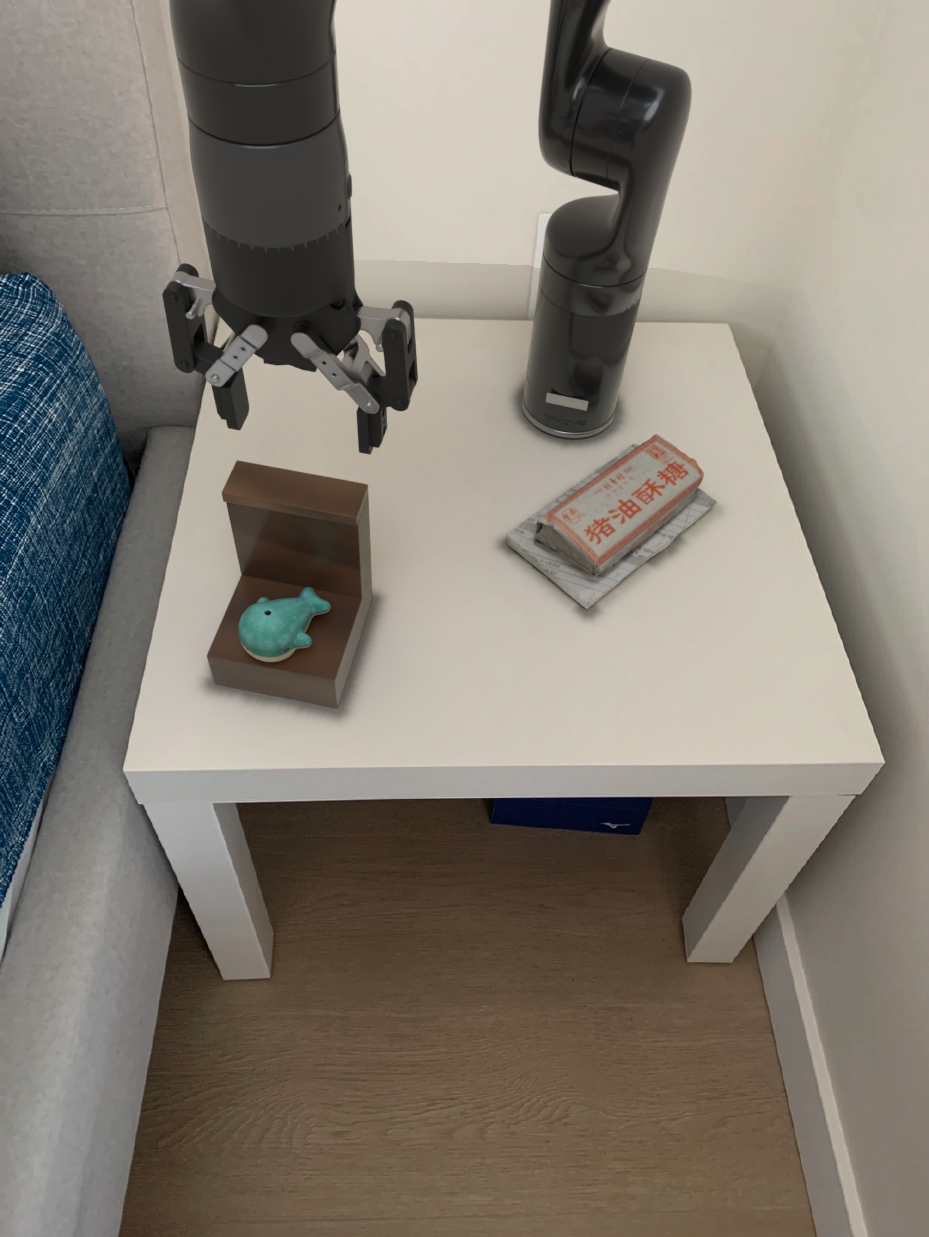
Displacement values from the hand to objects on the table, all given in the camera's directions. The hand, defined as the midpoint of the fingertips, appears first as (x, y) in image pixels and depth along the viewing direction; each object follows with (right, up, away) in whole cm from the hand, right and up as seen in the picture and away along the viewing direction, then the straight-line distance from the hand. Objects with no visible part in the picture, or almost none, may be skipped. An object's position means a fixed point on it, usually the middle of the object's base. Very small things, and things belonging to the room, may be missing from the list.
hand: (304, 432), depth 62 cm
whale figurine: (-4, -13, +13) cm, 19 cm away
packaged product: (+24, -4, +27) cm, 36 cm away
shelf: (-4, -14, +18) cm, 23 cm away
